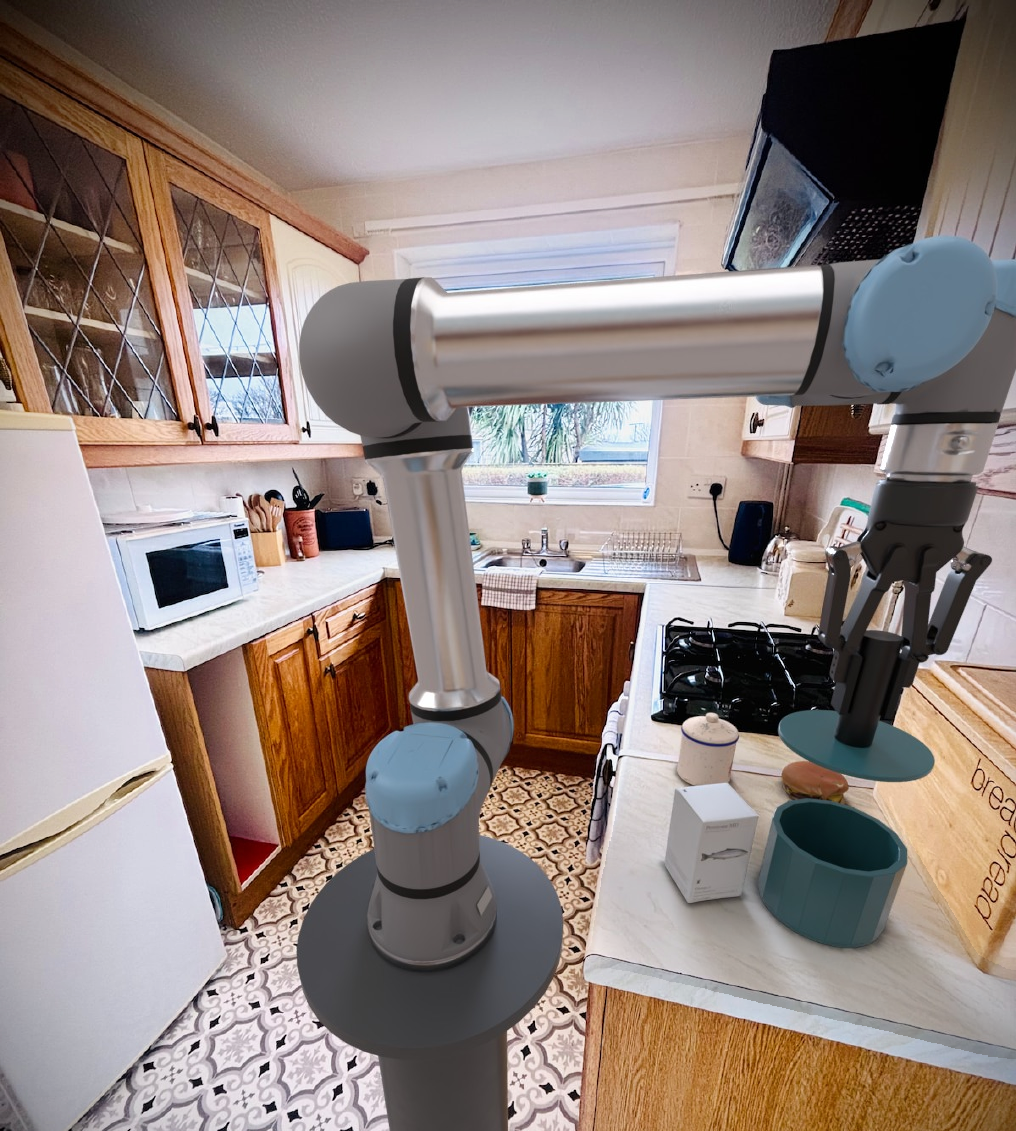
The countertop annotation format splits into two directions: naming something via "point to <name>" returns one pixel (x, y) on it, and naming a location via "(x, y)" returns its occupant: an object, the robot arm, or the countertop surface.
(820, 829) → the tin
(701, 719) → the teacup with lid
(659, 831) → the countertop surface
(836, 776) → the burger
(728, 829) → the white packaging box
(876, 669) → the tin lid
